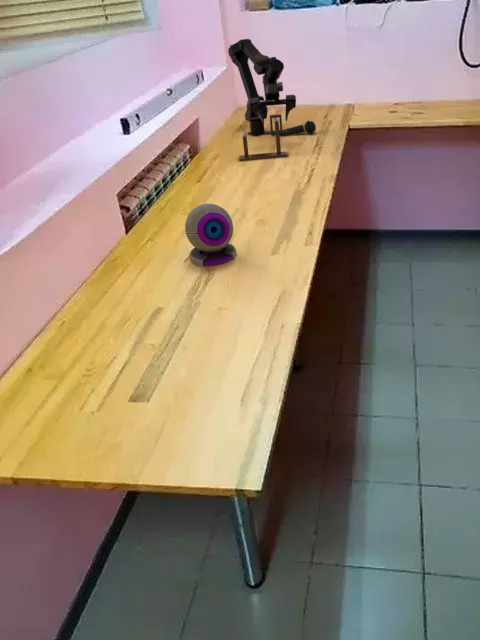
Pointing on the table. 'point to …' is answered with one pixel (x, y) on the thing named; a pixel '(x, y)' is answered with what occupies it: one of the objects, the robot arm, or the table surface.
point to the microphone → (300, 129)
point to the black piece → (272, 125)
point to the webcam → (210, 235)
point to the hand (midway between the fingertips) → (275, 121)
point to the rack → (263, 155)
